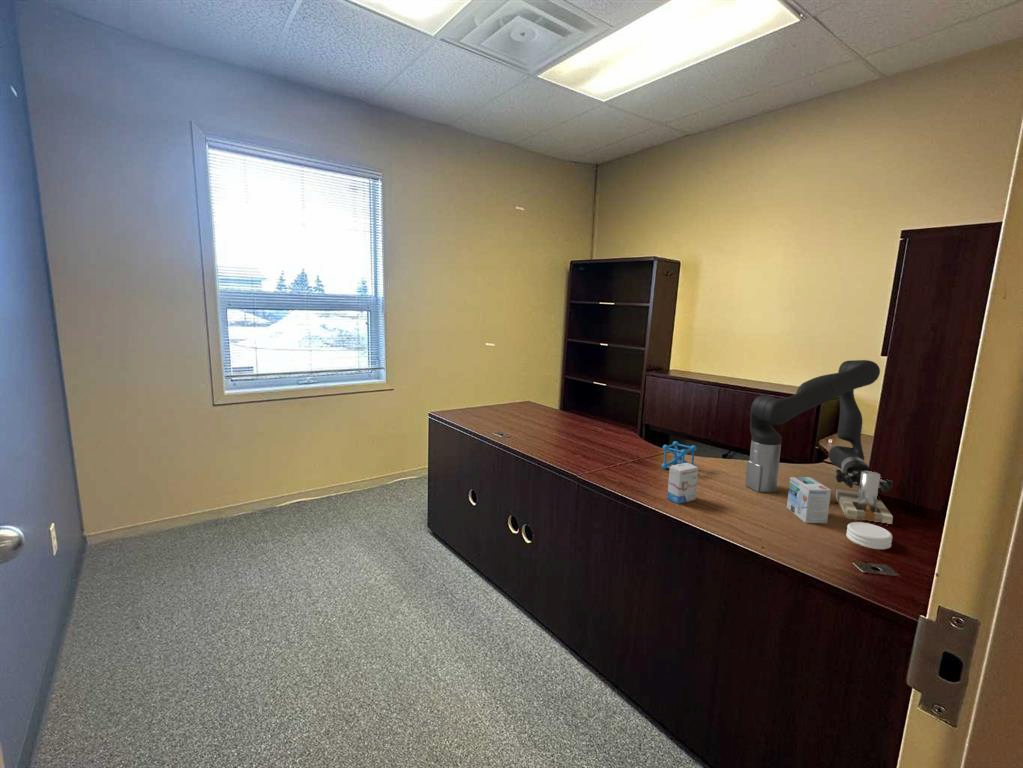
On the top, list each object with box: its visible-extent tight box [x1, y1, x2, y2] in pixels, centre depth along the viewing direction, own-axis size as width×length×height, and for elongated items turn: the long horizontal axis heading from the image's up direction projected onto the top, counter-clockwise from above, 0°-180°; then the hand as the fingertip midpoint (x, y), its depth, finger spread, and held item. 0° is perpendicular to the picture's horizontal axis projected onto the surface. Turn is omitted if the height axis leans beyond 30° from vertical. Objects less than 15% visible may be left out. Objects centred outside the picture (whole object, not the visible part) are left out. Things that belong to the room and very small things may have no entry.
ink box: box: [666, 462, 699, 505], centre depth 155 cm, size 9×5×12 cm, turn 117°
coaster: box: [845, 521, 893, 550], centre depth 129 cm, size 10×10×4 cm
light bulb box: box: [786, 476, 832, 524], centre depth 143 cm, size 11×7×11 cm, turn 178°
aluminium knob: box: [857, 470, 881, 513], centre depth 142 cm, size 6×5×14 cm
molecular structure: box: [661, 440, 697, 470], centre depth 185 cm, size 10×10×10 cm
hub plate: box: [835, 488, 894, 525], centre depth 147 cm, size 18×11×3 cm, turn 154°
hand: (868, 487), depth 142 cm, fingers open, 8 cm apart
